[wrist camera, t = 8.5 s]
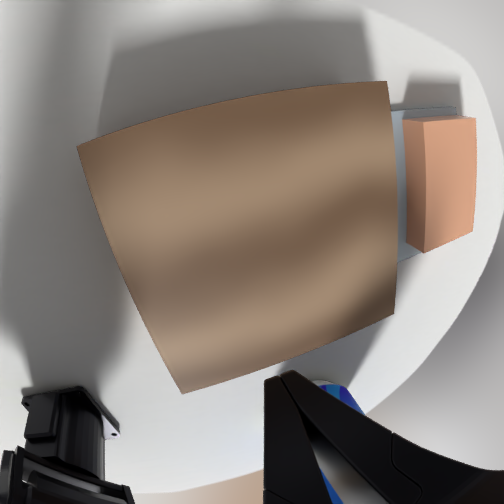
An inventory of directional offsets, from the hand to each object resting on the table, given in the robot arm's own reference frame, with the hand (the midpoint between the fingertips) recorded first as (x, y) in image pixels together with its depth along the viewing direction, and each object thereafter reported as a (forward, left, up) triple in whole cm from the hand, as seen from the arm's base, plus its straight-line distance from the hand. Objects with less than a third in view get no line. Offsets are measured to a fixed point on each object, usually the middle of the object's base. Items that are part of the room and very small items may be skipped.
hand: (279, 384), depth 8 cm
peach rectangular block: (0, -17, -9) cm, 19 cm away
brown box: (0, -3, -11) cm, 11 cm away
